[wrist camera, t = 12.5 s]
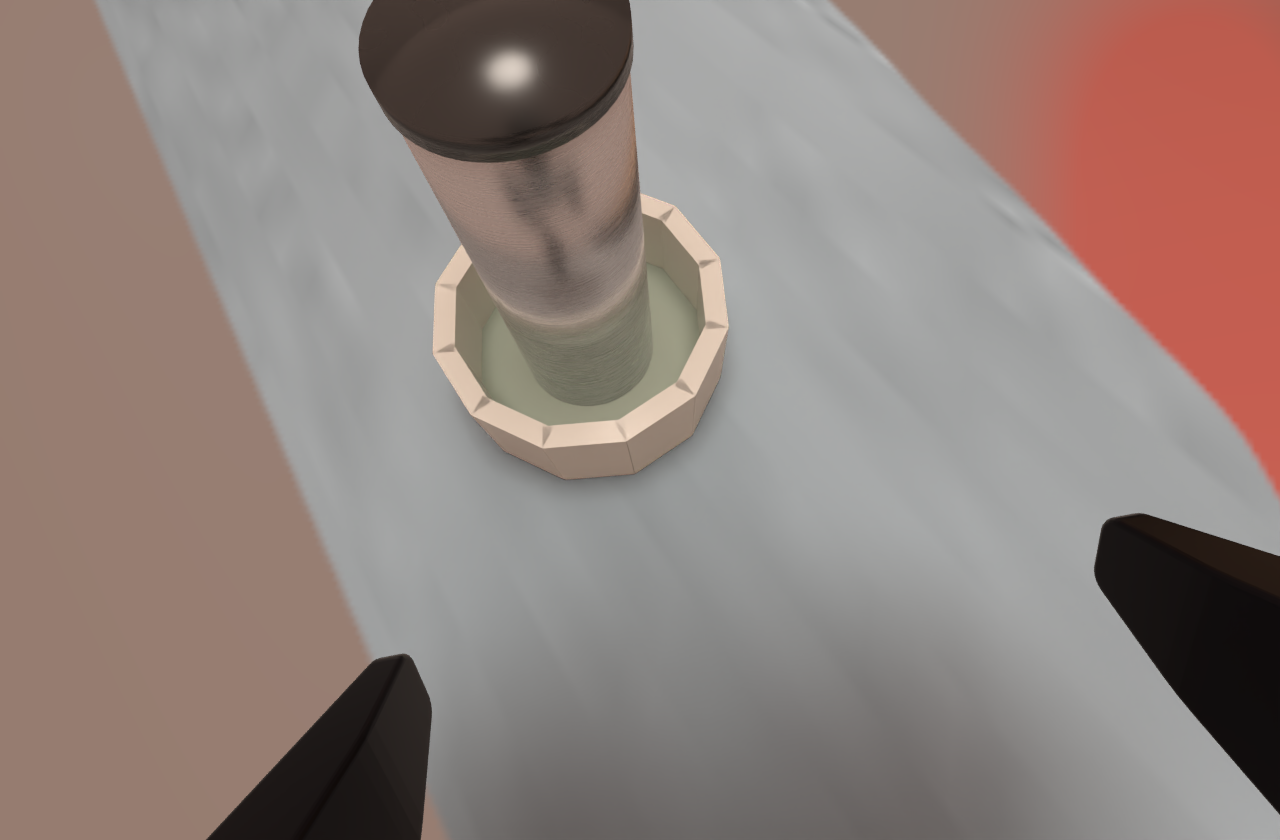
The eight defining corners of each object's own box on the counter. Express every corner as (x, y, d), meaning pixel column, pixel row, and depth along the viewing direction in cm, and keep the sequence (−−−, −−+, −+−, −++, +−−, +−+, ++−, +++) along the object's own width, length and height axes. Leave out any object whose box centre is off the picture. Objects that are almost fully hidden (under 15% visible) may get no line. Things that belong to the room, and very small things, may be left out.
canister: (677, 375, 23) (677, 71, 11) (553, 429, 23) (404, 178, 10) (623, 270, 24) (569, -102, 12) (506, 319, 24) (328, -15, 12)
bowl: (731, 466, 23) (742, 431, 19) (469, 487, 23) (428, 457, 19) (704, 240, 26) (708, 171, 22) (473, 261, 26) (438, 197, 22)
